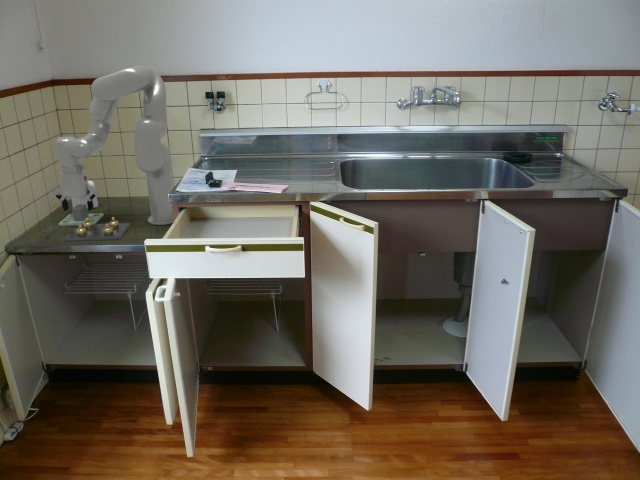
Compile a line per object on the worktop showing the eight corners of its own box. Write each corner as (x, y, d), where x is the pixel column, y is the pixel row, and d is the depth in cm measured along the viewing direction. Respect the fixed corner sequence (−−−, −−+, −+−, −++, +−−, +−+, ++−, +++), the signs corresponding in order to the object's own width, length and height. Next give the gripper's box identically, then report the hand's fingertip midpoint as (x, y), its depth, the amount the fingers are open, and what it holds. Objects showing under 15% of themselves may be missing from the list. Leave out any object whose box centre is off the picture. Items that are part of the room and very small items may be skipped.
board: (103, 215, 222) (101, 202, 220) (94, 224, 212) (91, 210, 210) (69, 216, 222) (67, 202, 220) (58, 225, 212) (55, 211, 209)
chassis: (130, 226, 210) (128, 214, 208) (119, 239, 197) (117, 226, 196) (79, 227, 210) (77, 215, 208) (65, 240, 197) (62, 228, 195)
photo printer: (97, 204, 236) (92, 178, 231) (99, 207, 233) (94, 180, 228) (72, 209, 231) (67, 181, 226) (74, 211, 227) (68, 184, 223)
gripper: (96, 166, 213) (103, 206, 219) (52, 166, 212) (60, 207, 218) (90, 171, 206) (97, 212, 212) (44, 171, 205) (53, 213, 211)
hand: (78, 209), depth 215 cm, fingers open, 9 cm apart
